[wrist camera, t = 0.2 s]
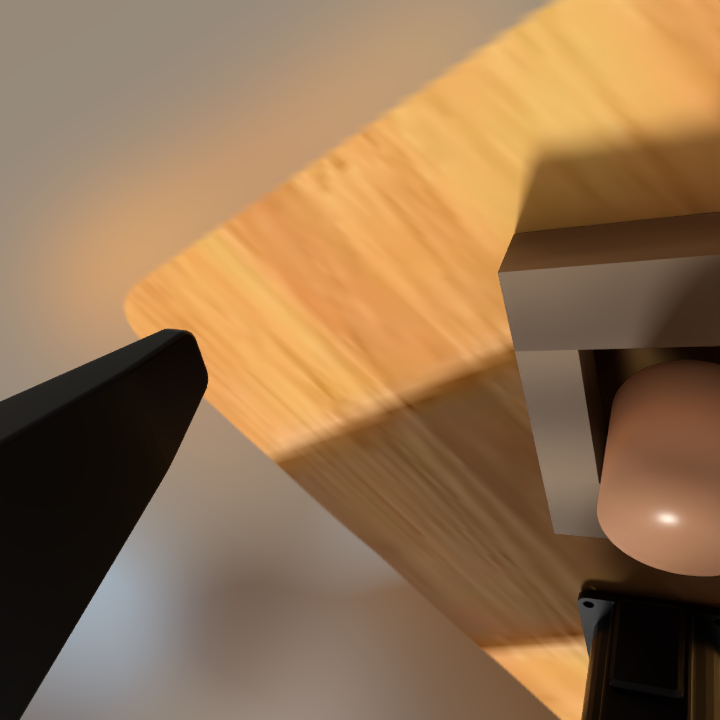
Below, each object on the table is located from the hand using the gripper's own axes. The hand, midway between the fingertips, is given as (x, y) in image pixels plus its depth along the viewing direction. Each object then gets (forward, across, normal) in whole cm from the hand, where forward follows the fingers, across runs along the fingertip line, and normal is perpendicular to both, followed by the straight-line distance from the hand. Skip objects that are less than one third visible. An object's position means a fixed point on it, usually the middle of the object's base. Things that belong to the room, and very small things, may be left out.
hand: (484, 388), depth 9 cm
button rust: (+12, -3, +10) cm, 16 cm away
